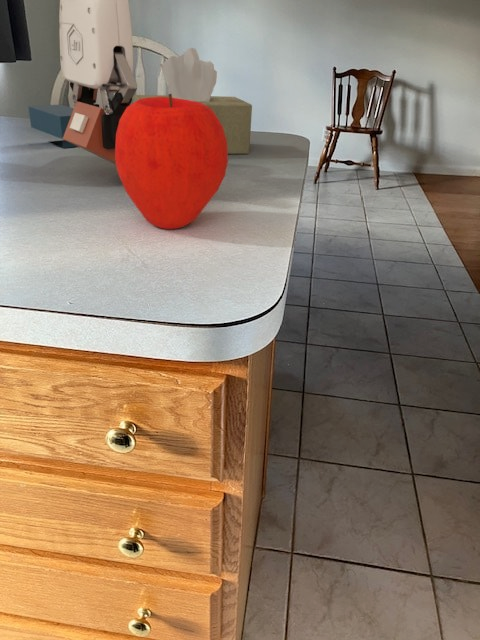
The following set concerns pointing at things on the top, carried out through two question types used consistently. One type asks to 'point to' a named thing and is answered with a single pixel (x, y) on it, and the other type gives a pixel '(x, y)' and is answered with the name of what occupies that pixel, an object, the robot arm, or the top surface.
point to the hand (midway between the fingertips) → (101, 140)
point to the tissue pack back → (52, 121)
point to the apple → (170, 158)
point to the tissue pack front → (88, 131)
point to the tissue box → (207, 97)
